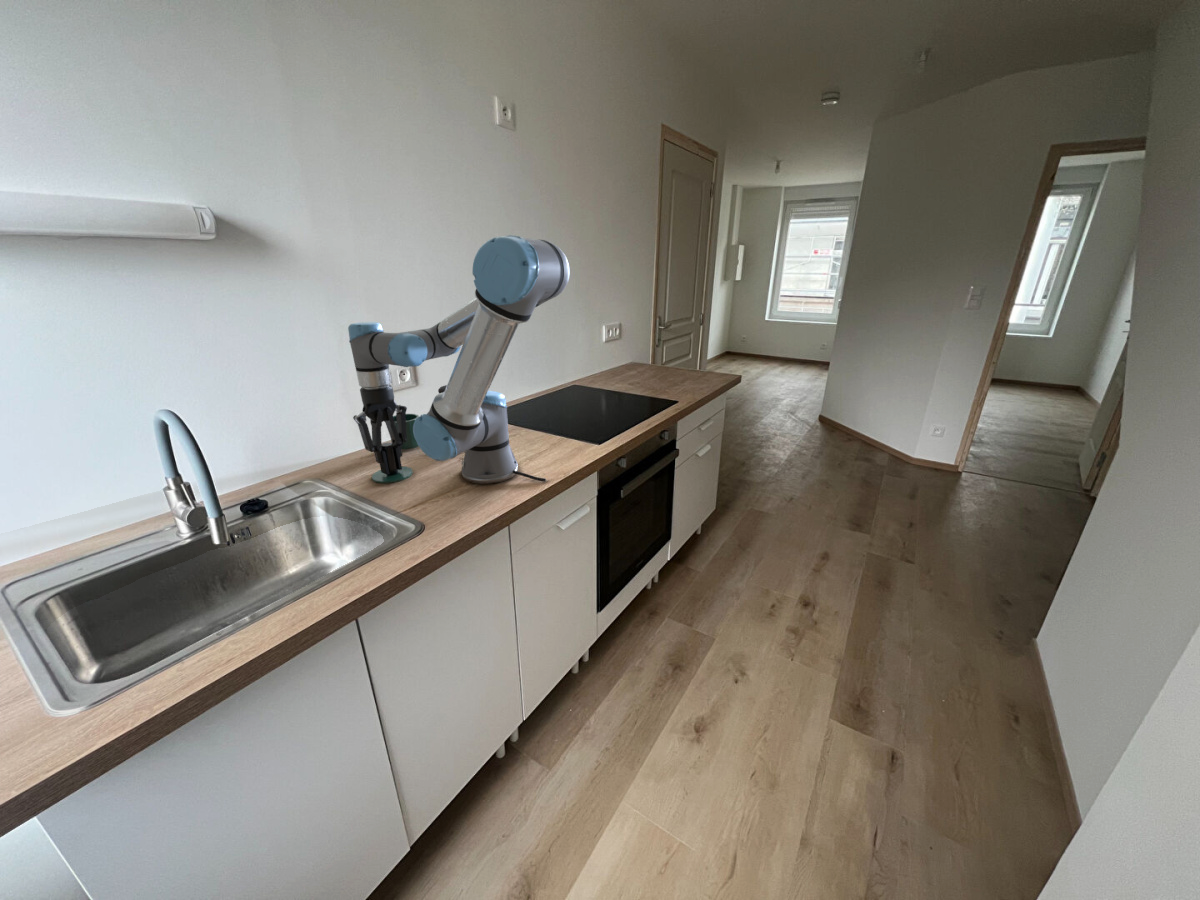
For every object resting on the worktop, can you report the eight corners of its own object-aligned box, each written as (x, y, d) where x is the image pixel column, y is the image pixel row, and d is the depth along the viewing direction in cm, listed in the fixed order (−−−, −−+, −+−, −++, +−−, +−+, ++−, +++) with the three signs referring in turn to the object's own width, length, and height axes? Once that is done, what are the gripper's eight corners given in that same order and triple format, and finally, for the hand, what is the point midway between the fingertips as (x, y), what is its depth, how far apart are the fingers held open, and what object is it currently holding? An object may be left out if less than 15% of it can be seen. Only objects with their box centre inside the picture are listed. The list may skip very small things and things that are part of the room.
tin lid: (420, 475, 124) (415, 442, 121) (385, 489, 117) (378, 454, 113) (400, 466, 130) (394, 435, 126) (365, 479, 122) (358, 445, 119)
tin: (428, 444, 147) (424, 416, 143) (402, 453, 140) (397, 424, 136) (413, 439, 152) (408, 412, 148) (386, 446, 145) (381, 418, 142)
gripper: (397, 378, 122) (411, 458, 131) (335, 389, 110) (355, 477, 119) (413, 382, 118) (426, 464, 126) (350, 394, 106) (369, 484, 114)
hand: (391, 470), depth 122 cm, fingers closed on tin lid, 3 cm apart
